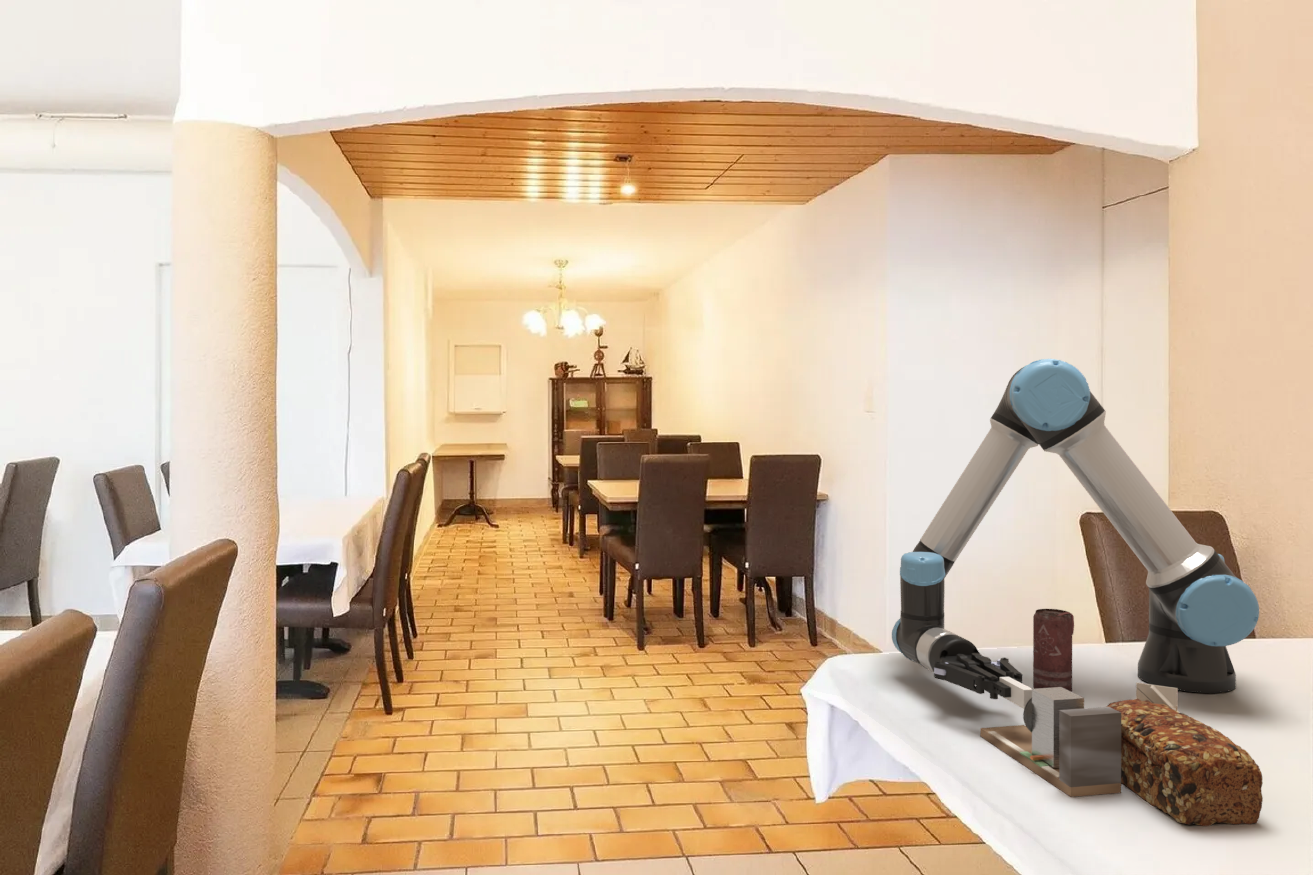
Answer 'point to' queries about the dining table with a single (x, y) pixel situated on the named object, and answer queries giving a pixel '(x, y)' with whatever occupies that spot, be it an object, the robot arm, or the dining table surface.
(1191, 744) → the bread
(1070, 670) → the can
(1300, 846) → the dining table surface
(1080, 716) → the gauge body
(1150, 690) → the architectural model
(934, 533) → the robot arm
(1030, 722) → the brushed steel block
